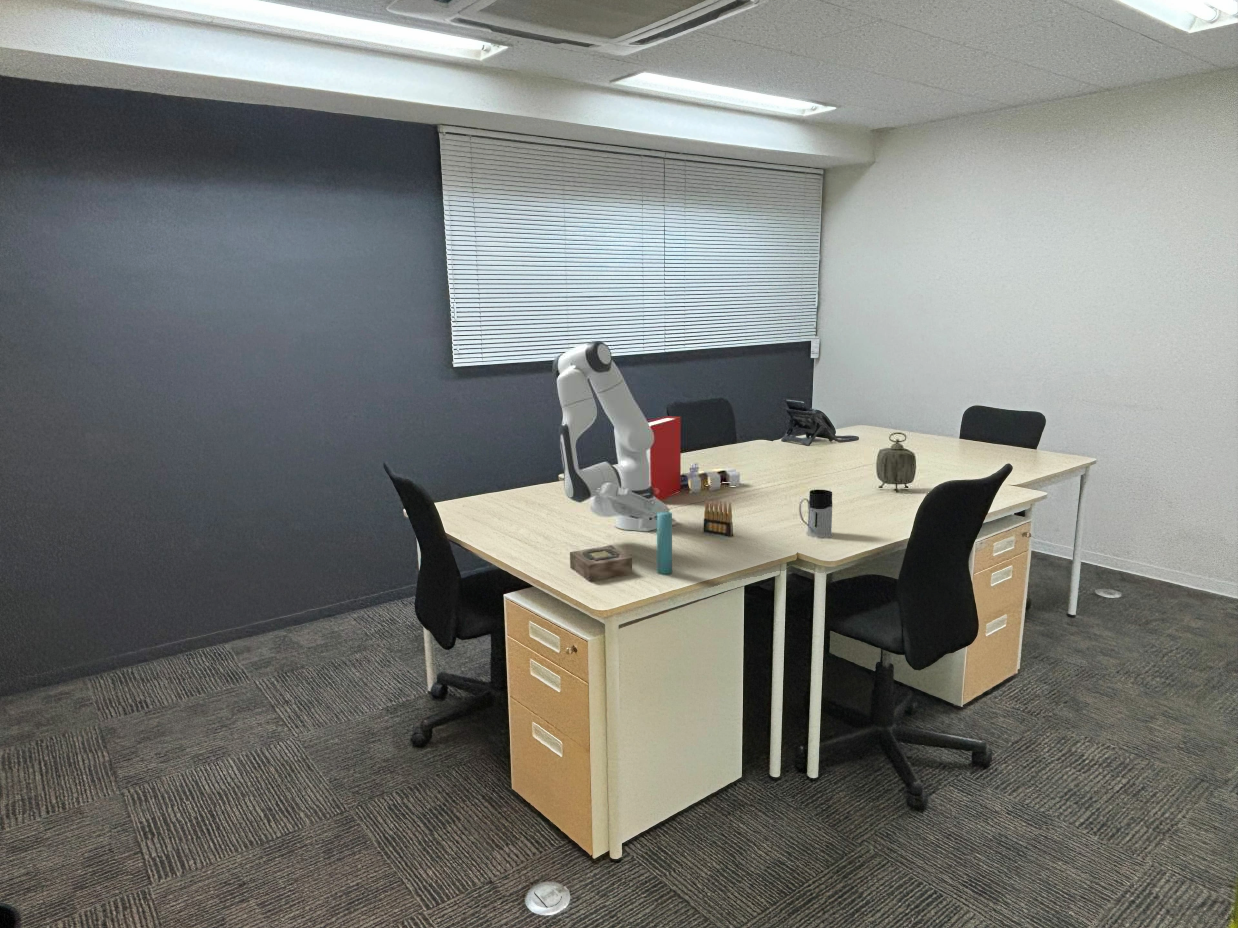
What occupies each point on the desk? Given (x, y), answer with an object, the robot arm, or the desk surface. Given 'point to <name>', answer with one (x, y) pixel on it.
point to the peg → (664, 543)
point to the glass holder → (819, 513)
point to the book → (665, 456)
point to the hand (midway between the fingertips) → (642, 497)
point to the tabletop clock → (896, 464)
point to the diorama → (709, 478)
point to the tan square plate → (600, 554)
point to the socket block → (601, 563)
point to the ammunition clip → (718, 519)
